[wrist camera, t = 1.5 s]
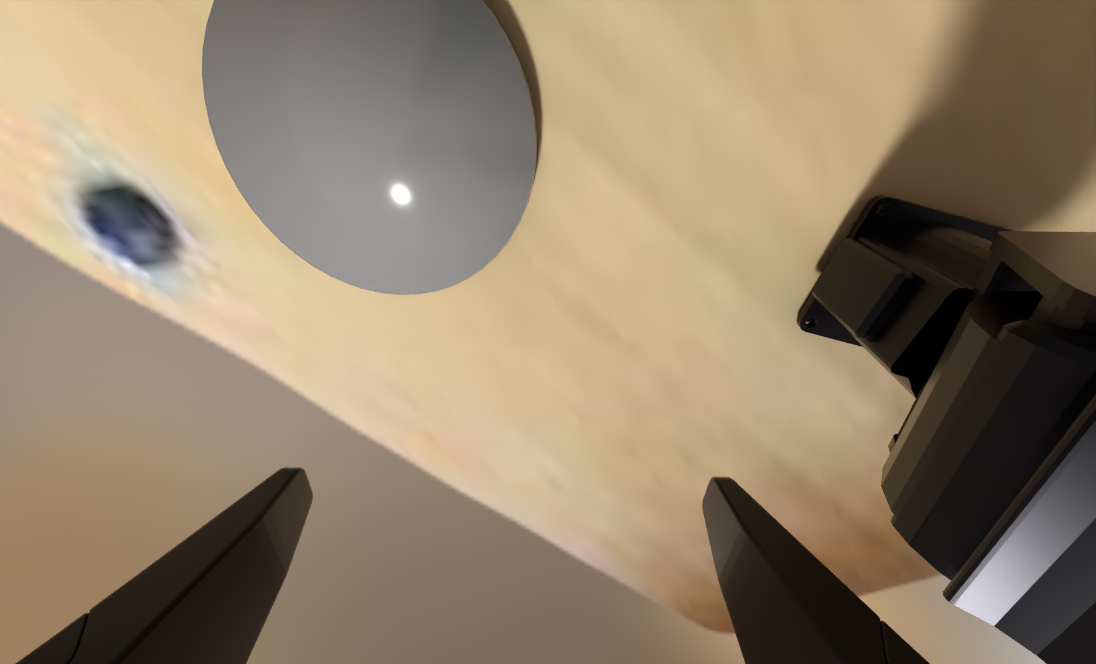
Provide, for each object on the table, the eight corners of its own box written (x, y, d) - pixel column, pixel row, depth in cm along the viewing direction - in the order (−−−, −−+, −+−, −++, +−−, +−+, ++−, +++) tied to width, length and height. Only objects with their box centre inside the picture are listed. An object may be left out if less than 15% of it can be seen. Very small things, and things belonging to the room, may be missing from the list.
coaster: (575, -13, 16) (574, -18, 15) (504, 317, 23) (501, 324, 22) (188, -124, 15) (168, -134, 14) (239, 248, 22) (228, 253, 21)
